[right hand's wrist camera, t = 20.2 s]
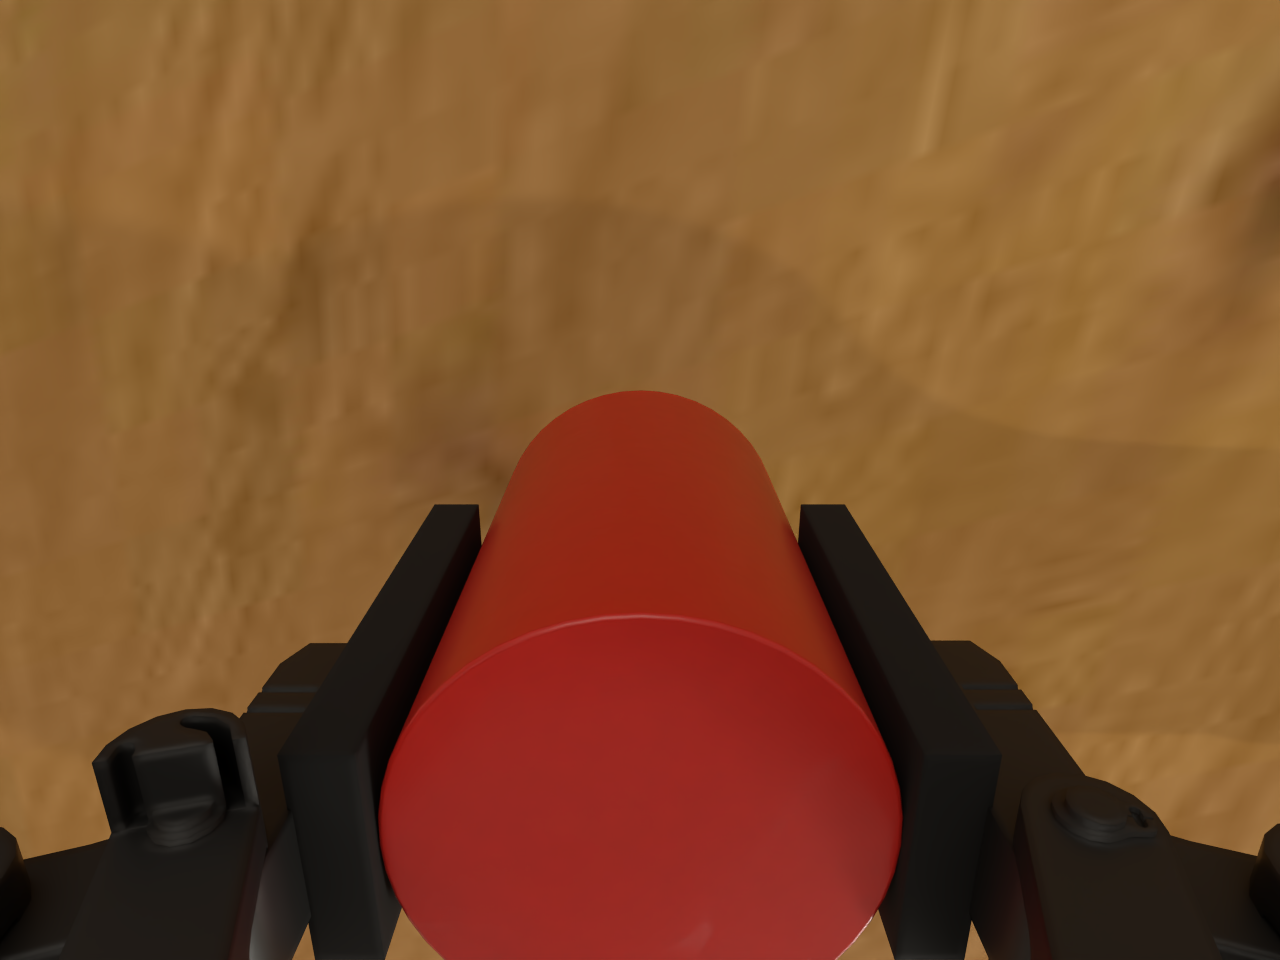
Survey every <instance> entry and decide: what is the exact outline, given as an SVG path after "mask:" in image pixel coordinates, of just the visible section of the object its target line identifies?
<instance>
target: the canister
mask: <svg viewBox="0 0 1280 960" xmlns="http://www.w3.org/2000/svg"><path fill="white" fill-rule="evenodd" d="M378 824H379V842H380V847H381V852H382V856H383V861H384V866H385V870H386V873H387V876H388V878H389V881H390V883H391V886H392V888H393V891H394V893H395V896H396V898H397V899H398V901H399V903H400V905H401V906H402V908H403V910H404V912H405V913H406V915H407V917H408V919H409V920H410V921H411V923H412V924H413V925H414V927H415V928H416V929H417V930H418V932H419V933H420V934H421V936H422V937H423V938H424V939H425V941H426V942H427V943H428V944H429V945H430V946H431V947H432V948H433V949H434V950H435V951H436V952H437V953H438V954H439V955H440V956H441V957H442V958H443V959H444V960H837V959H838V958H839V957H840V956H841V955H842V954H843V953H844V952H845V951H846V950H847V949H848V948H849V947H850V946H851V945H852V944H853V943H854V942H855V941H856V939H857V938H858V937H859V936H860V934H861V933H862V932H863V930H864V929H865V928H866V927H867V925H868V924H869V923H870V922H871V920H872V918H873V917H874V915H875V913H876V912H877V910H878V908H879V906H880V905H881V903H882V901H883V900H884V898H885V896H886V893H887V891H888V888H889V886H890V883H891V881H892V878H893V876H894V873H895V870H896V865H897V861H898V856H899V852H900V848H901V838H902V824H903V811H902V801H901V792H900V786H899V782H898V779H897V775H896V772H895V768H894V765H893V761H892V759H891V756H890V754H889V752H888V749H887V747H886V745H885V742H884V740H883V738H882V736H881V733H880V731H879V729H878V726H877V724H876V722H875V719H874V717H873V715H872V713H871V710H870V708H869V706H868V703H867V701H866V699H865V696H864V694H863V692H862V690H861V687H860V685H859V683H858V680H857V678H856V676H855V674H854V671H853V669H852V667H851V664H850V662H849V660H848V657H847V655H846V653H845V651H844V648H843V646H842V644H841V641H840V639H839V637H838V634H837V632H836V630H835V628H834V625H833V623H832V621H831V618H830V616H829V614H828V611H827V609H826V607H825V605H824V602H823V600H822V598H821V595H820V593H819V591H818V588H817V586H816V584H815V582H814V579H813V577H812V575H811V572H810V570H809V568H808V565H807V563H806V561H805V559H804V556H803V554H802V552H801V549H800V547H799V545H798V542H797V540H796V538H795V536H794V533H793V531H792V529H791V526H790V524H789V522H788V519H787V517H786V515H785V513H784V510H783V508H782V506H781V503H780V501H779V499H778V496H777V494H776V492H775V490H774V487H773V485H772V483H771V480H770V478H769V476H768V474H767V471H766V469H765V467H764V465H763V463H762V461H761V458H760V457H759V455H758V454H757V452H756V451H755V449H754V448H753V446H752V445H751V443H750V442H749V441H748V440H747V439H746V437H745V436H744V435H743V434H742V433H741V432H740V431H739V430H738V429H737V428H736V427H735V426H734V425H733V424H731V423H730V422H729V421H728V420H727V419H725V418H724V417H722V416H721V415H719V414H718V413H716V412H715V411H713V410H712V409H710V408H708V407H706V406H704V405H702V404H700V403H698V402H696V401H693V400H690V399H687V398H684V397H681V396H678V395H673V394H668V393H663V392H655V391H625V392H618V393H613V394H607V395H603V396H600V397H597V398H594V399H591V400H588V401H585V402H583V403H581V404H579V405H577V406H575V407H573V408H571V409H569V410H567V411H566V412H564V413H563V414H561V415H560V416H558V417H557V418H555V419H554V420H553V421H552V422H551V423H549V424H548V425H547V426H546V427H545V428H544V429H542V430H541V431H540V433H539V434H538V435H537V436H536V437H535V438H534V439H533V441H532V442H531V443H530V444H529V446H528V447H527V449H526V450H525V452H524V453H523V455H522V456H521V458H520V460H519V462H518V464H517V466H516V469H515V471H514V473H513V475H512V477H511V480H510V482H509V484H508V487H507V489H506V491H505V493H504V496H503V498H502V500H501V503H500V505H499V507H498V510H497V512H496V514H495V516H494V519H493V521H492V523H491V526H490V528H489V530H488V533H487V535H486V537H485V540H484V542H483V544H482V546H481V549H480V551H479V553H478V556H477V558H476V560H475V563H474V565H473V567H472V569H471V572H470V574H469V576H468V579H467V581H466V583H465V586H464V588H463V590H462V592H461V595H460V597H459V599H458V602H457V604H456V606H455V609H454V611H453V613H452V616H451V618H450V620H449V622H448V625H447V627H446V629H445V632H444V634H443V636H442V639H441V641H440V643H439V645H438V648H437V650H436V652H435V655H434V657H433V659H432V662H431V664H430V666H429V668H428V671H427V673H426V675H425V678H424V680H423V682H422V685H421V687H420V689H419V692H418V694H417V696H416V698H415V701H414V703H413V705H412V708H411V710H410V712H409V715H408V717H407V719H406V721H405V724H404V726H403V728H402V731H401V733H400V735H399V738H398V740H397V742H396V744H395V747H394V749H393V751H392V754H391V756H390V758H389V761H388V765H387V768H386V772H385V775H384V779H383V782H382V785H381V792H380V801H379V810H378Z"/></svg>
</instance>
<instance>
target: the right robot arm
mask: <svg viewBox="0 0 1280 960" xmlns="http://www.w3.org/2000/svg"><path fill="white" fill-rule="evenodd" d="M798 545H799V547H800V549H801V552H802V554H803V556H804V559H805V561H806V563H807V565H808V568H809V570H810V572H811V575H812V577H813V579H814V582H815V584H816V586H817V588H818V591H819V593H820V595H821V598H822V600H823V602H824V605H825V607H826V609H827V611H828V614H829V616H830V618H831V621H832V623H833V625H834V628H835V630H836V632H837V634H838V637H839V639H840V641H841V644H842V646H843V648H844V651H845V653H846V655H847V657H848V660H849V662H850V664H851V667H852V669H853V671H854V674H855V676H856V678H857V680H858V683H859V685H860V687H861V690H862V692H863V694H864V696H865V699H866V701H867V703H868V706H869V708H870V710H871V713H872V715H873V717H874V719H875V722H876V724H877V726H878V729H879V731H880V733H881V736H882V738H883V740H884V742H885V745H886V747H887V749H888V752H889V754H890V756H891V759H892V761H893V765H894V768H895V772H896V775H897V779H898V782H899V786H900V792H901V801H902V811H903V824H902V838H901V848H900V852H899V856H898V861H897V865H896V870H895V873H894V876H893V878H892V881H891V883H890V886H889V888H888V891H887V893H886V896H885V898H884V900H883V901H882V903H881V905H880V906H879V908H878V910H879V913H880V916H881V919H882V922H883V925H884V928H885V931H886V935H887V938H888V941H889V944H890V947H891V950H892V953H893V956H894V959H895V960H964V958H965V953H966V947H967V942H968V937H969V931H970V926H971V920H972V922H973V924H974V926H975V928H976V931H977V933H978V935H979V937H980V940H981V942H982V944H983V946H984V949H985V951H986V953H987V955H988V957H989V959H988V960H1280V824H1277V825H1275V826H1274V827H1273V828H1272V829H1270V830H1269V831H1268V832H1267V833H1266V834H1265V835H1264V838H1263V841H1262V844H1261V847H1260V850H1259V853H1258V856H1254V855H1250V854H1245V853H1241V852H1236V851H1232V850H1227V849H1223V848H1218V847H1214V846H1210V845H1205V844H1201V843H1196V842H1192V841H1188V840H1185V839H1181V838H1178V837H1174V836H1171V835H1170V834H1169V832H1168V830H1167V829H1166V827H1165V826H1164V824H1163V823H1162V822H1161V820H1160V819H1159V817H1158V816H1157V814H1156V813H1155V812H1154V811H1153V810H1151V809H1150V808H1149V807H1148V806H1146V805H1145V804H1144V803H1143V802H1141V801H1140V800H1139V799H1138V798H1136V797H1135V796H1134V795H1132V794H1130V793H1128V792H1126V791H1124V790H1122V789H1120V788H1118V787H1116V786H1114V785H1112V784H1110V783H1108V782H1106V781H1102V780H1099V779H1095V778H1091V777H1088V776H1085V774H1084V773H1083V772H1082V770H1081V769H1080V768H1079V766H1078V765H1077V764H1076V762H1075V761H1074V760H1073V758H1072V757H1071V756H1070V754H1069V753H1068V752H1067V750H1066V749H1065V748H1064V746H1063V745H1062V744H1061V742H1060V741H1059V740H1058V738H1057V737H1056V736H1055V734H1054V733H1053V732H1052V730H1051V729H1050V728H1049V726H1048V725H1047V724H1046V722H1045V721H1044V720H1043V718H1042V717H1041V716H1040V714H1039V713H1038V712H1037V710H1033V708H1032V703H1031V702H1030V701H1029V699H1028V698H1027V697H1026V695H1025V694H1024V693H1023V691H1022V690H1018V685H1017V683H1016V682H1015V681H1014V679H1013V678H1012V677H1011V675H1010V674H1009V673H1008V671H1007V670H1006V669H1005V667H1004V666H1003V665H1002V663H1001V662H1000V661H999V660H997V659H996V658H995V657H993V656H992V655H990V654H989V653H987V652H986V651H984V650H983V649H981V648H980V647H978V646H977V645H975V644H974V643H972V642H971V641H930V639H929V638H928V636H927V635H926V633H925V631H924V630H923V628H922V627H921V625H920V623H919V622H918V620H917V619H916V617H915V615H914V614H913V612H912V611H911V609H910V608H909V606H908V604H907V603H906V601H905V600H904V598H903V596H902V595H901V593H900V592H899V590H898V588H897V587H896V585H895V584H894V582H893V581H892V579H891V577H890V576H889V574H888V573H887V571H886V569H885V568H884V566H883V565H882V563H881V561H880V560H879V558H878V557H877V555H876V554H875V552H874V550H873V549H872V547H871V546H870V544H869V542H868V541H867V539H866V538H865V536H864V534H863V533H862V531H861V530H860V528H859V527H858V525H857V523H856V522H855V520H854V519H853V517H852V515H851V514H850V512H849V511H848V509H847V507H846V506H845V505H801V511H800V524H799V538H798ZM481 546H482V545H481V532H480V518H479V505H434V507H433V508H432V510H431V511H430V513H429V515H428V516H427V518H426V519H425V521H424V522H423V524H422V526H421V527H420V529H419V530H418V532H417V534H416V535H415V537H414V538H413V540H412V542H411V543H410V545H409V546H408V548H407V549H406V551H405V553H404V554H403V556H402V557H401V559H400V561H399V562H398V564H397V565H396V567H395V569H394V570H393V572H392V573H391V575H390V576H389V578H388V580H387V581H386V583H385V584H384V586H383V588H382V589H381V591H380V592H379V594H378V596H377V597H376V599H375V600H374V602H373V603H372V605H371V607H370V608H369V610H368V611H367V613H366V615H365V616H364V618H363V619H362V621H361V623H360V624H359V626H358V627H357V629H356V630H355V632H354V634H353V635H352V637H351V638H350V640H349V642H348V643H310V644H308V645H307V646H305V647H304V648H302V649H301V650H299V651H298V652H297V653H295V654H294V655H292V656H291V657H289V658H288V659H286V660H285V661H283V662H282V663H280V665H279V666H278V667H277V669H276V670H275V671H274V673H273V674H272V675H271V677H270V678H269V679H268V681H267V682H266V683H265V685H264V686H263V687H262V692H259V693H258V694H257V696H256V697H255V698H254V700H253V701H252V702H251V704H250V705H249V706H248V710H247V713H243V714H242V716H241V717H240V718H238V717H237V716H236V715H234V714H233V713H231V712H227V711H222V710H218V709H213V708H205V709H186V710H182V711H178V712H174V713H170V714H166V715H162V716H158V717H155V718H153V719H151V720H148V721H146V722H144V723H142V724H139V725H137V726H135V727H133V728H130V729H129V730H127V731H126V732H124V733H123V734H121V735H120V736H118V737H117V738H116V739H114V740H113V741H111V742H110V743H108V744H107V745H106V746H105V747H104V748H103V750H102V751H101V752H100V753H99V755H98V756H97V757H96V758H95V760H94V761H93V762H92V766H93V769H94V773H95V776H96V780H97V783H98V787H99V790H100V794H101V797H102V801H103V804H104V808H105V812H106V815H107V819H108V822H109V826H110V829H111V835H110V838H109V839H107V840H104V841H100V842H97V843H94V844H90V845H86V846H82V847H77V848H73V849H68V850H64V851H59V852H55V853H51V854H46V855H42V856H37V857H33V858H29V859H24V860H23V858H22V855H21V852H20V849H19V846H18V843H17V840H16V838H15V837H14V836H13V835H12V834H10V833H9V832H8V831H7V830H5V829H4V828H2V827H0V960H292V958H293V956H294V954H295V951H296V949H297V947H298V945H299V943H300V940H301V938H302V936H303V934H304V931H305V929H306V927H307V925H308V924H309V929H310V934H311V940H312V945H313V950H314V956H315V960H385V957H386V954H387V951H388V948H389V945H390V942H391V939H392V936H393V933H394V930H395V927H396V924H397V921H398V918H399V914H400V911H401V908H402V906H401V905H400V903H399V901H398V899H397V898H396V896H395V893H394V891H393V888H392V886H391V883H390V881H389V878H388V876H387V873H386V870H385V866H384V861H383V856H382V852H381V847H380V842H379V824H378V810H379V801H380V792H381V785H382V782H383V779H384V775H385V772H386V768H387V765H388V761H389V758H390V756H391V754H392V751H393V749H394V747H395V744H396V742H397V740H398V738H399V735H400V733H401V731H402V728H403V726H404V724H405V721H406V719H407V717H408V715H409V712H410V710H411V708H412V705H413V703H414V701H415V698H416V696H417V694H418V692H419V689H420V687H421V685H422V682H423V680H424V678H425V675H426V673H427V671H428V668H429V666H430V664H431V662H432V659H433V657H434V655H435V652H436V650H437V648H438V645H439V643H440V641H441V639H442V636H443V634H444V632H445V629H446V627H447V625H448V622H449V620H450V618H451V616H452V613H453V611H454V609H455V606H456V604H457V602H458V599H459V597H460V595H461V592H462V590H463V588H464V586H465V583H466V581H467V579H468V576H469V574H470V572H471V569H472V567H473V565H474V563H475V560H476V558H477V556H478V553H479V551H480V549H481Z"/></svg>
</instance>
